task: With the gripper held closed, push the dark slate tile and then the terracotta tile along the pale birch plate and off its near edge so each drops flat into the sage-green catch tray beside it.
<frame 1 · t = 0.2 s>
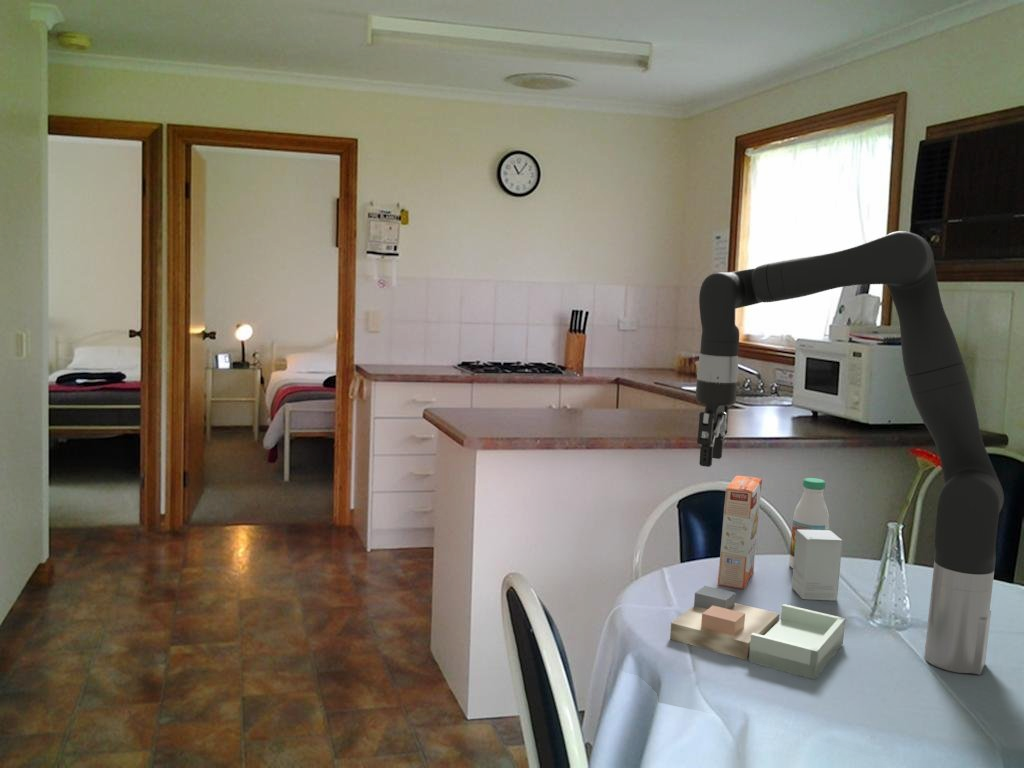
hand: (710, 461, 184), 28 cm above the table, fingers open, 8 cm apart
cracker box: (736, 579, 203), on the table
milk bottle: (806, 568, 212), on the table
supplement box: (813, 595, 195), on the table
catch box: (797, 652, 166), on the table
terracotta tile: (722, 627, 168), point 3 cm above the table, touching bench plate
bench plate: (725, 634, 172), on the table
slate tile: (714, 605, 178), point 3 cm above the table, touching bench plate
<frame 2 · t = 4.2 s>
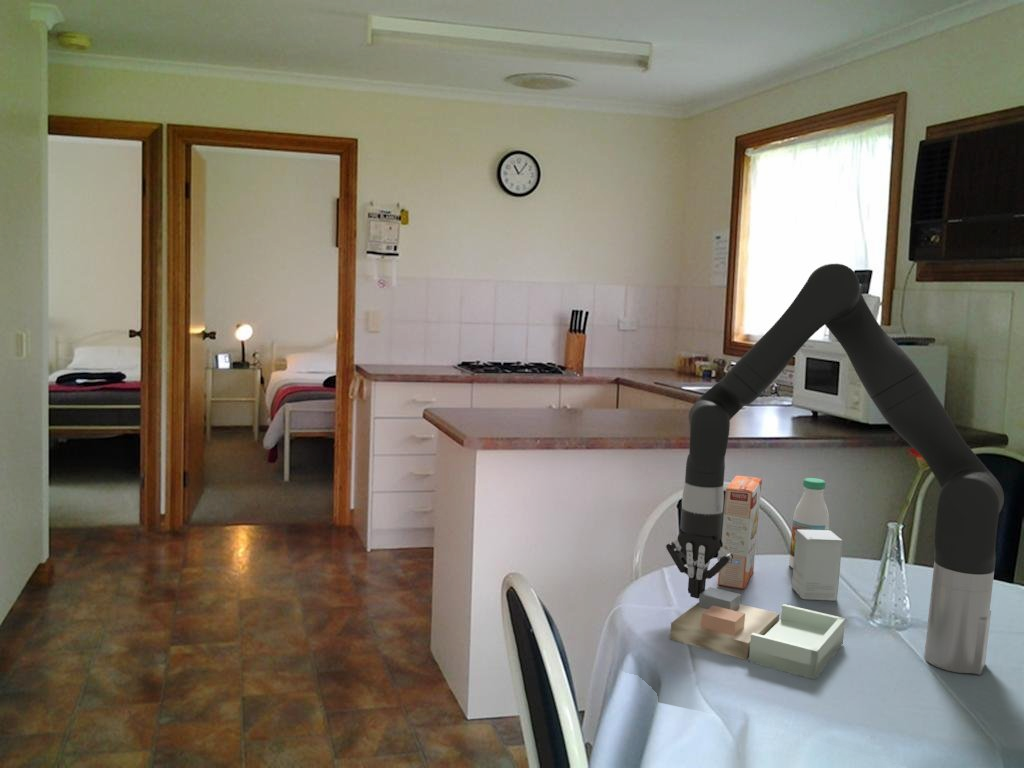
hand: (695, 596, 180), 4 cm above the table, fingers closed
slate tile: (719, 607, 177), point 3 cm above the table, touching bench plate, gripper
everything else where it was.
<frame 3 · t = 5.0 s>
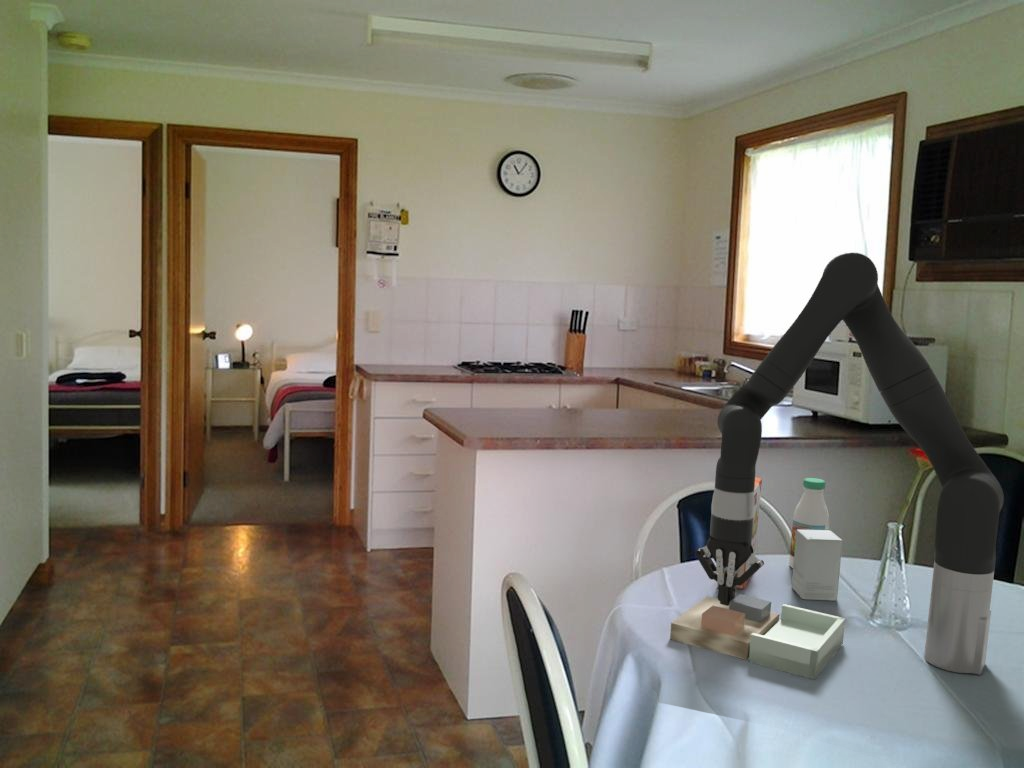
hand: (725, 603, 177), 4 cm above the table, fingers closed
slate tile: (749, 614, 174), point 3 cm above the table, touching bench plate, gripper
everything else where it was.
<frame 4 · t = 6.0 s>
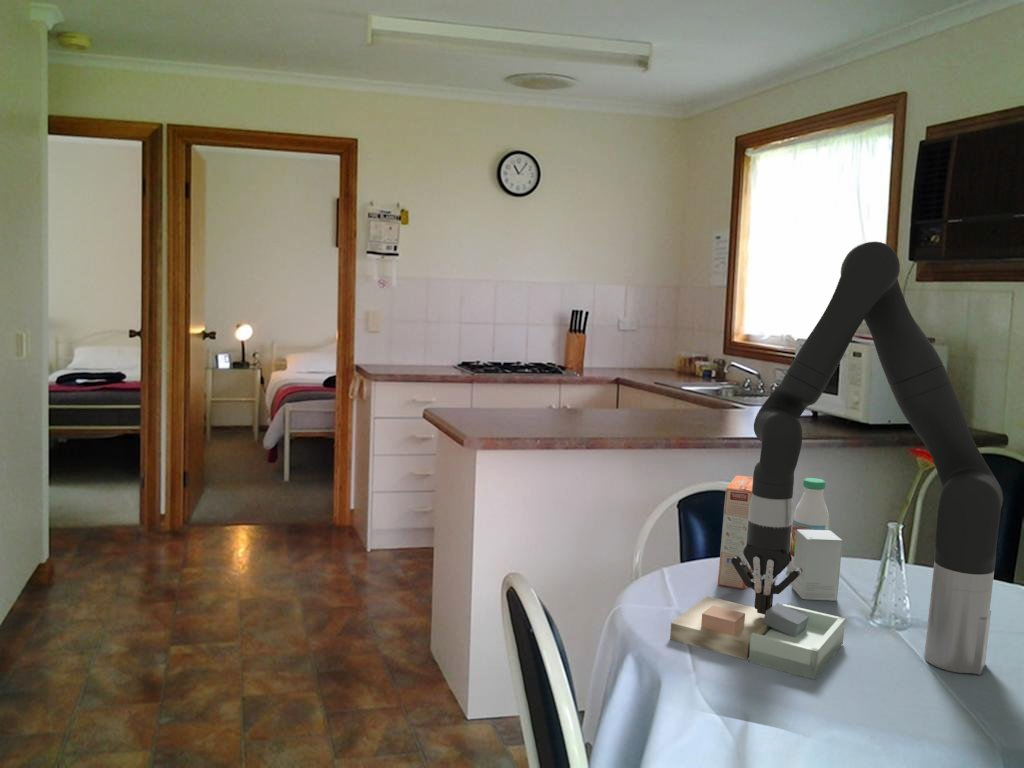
hand: (762, 612, 173), 4 cm above the table, fingers closed
slate tile: (784, 626, 170), point 3 cm above the table, tilted 9°, touching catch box, gripper
everything else where it was.
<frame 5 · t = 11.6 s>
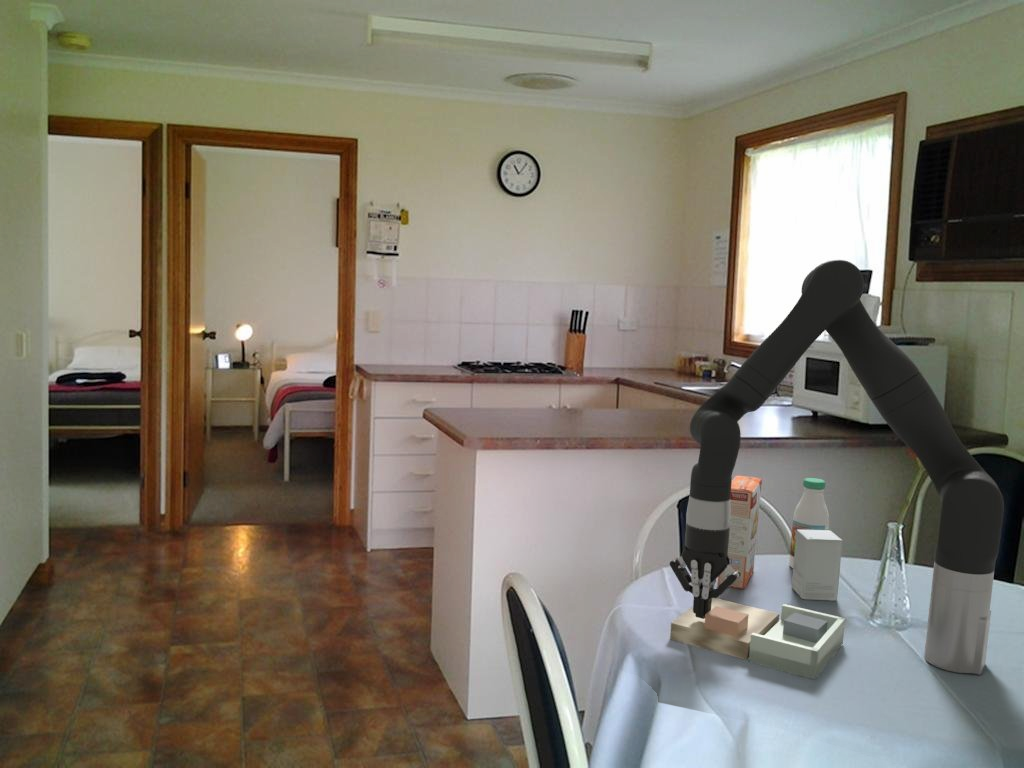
hand: (701, 616, 170), 4 cm above the table, fingers closed
terracotta tile: (726, 627, 167), point 3 cm above the table, touching gripper
slate tile: (804, 634, 168), point 2 cm above the table, touching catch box
everything else where it was.
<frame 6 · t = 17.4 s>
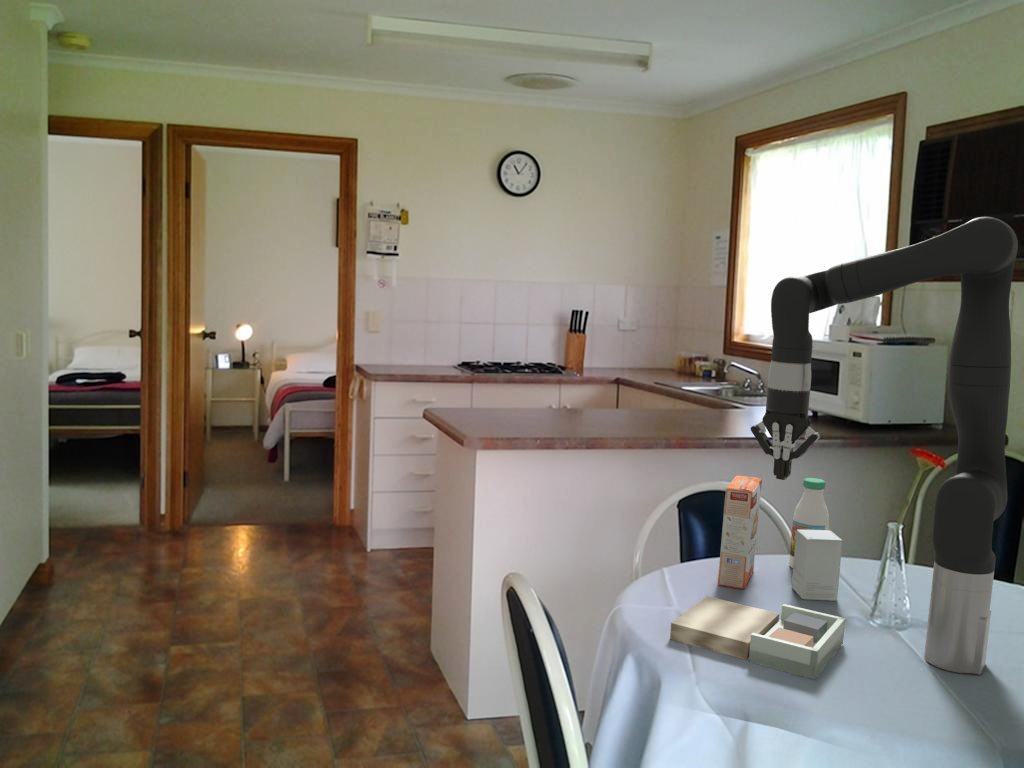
hand: (781, 478, 177), 27 cm above the table, fingers closed
terracotta tile: (789, 650, 161), point 2 cm above the table, touching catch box
everything else where it was.
at the end: slate tile inside the target area on the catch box (3.6 cm from its centre), point 2.2 cm above the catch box's base; terracotta tile inside the target area on the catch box (5.2 cm from its centre), point 2.2 cm above the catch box's base; slate tile tilted 0° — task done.
